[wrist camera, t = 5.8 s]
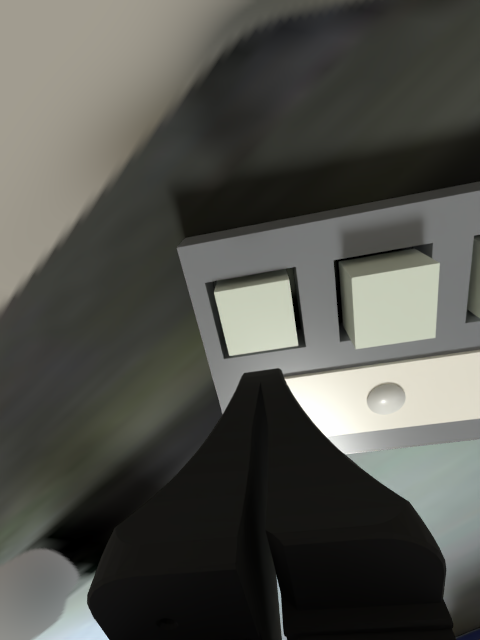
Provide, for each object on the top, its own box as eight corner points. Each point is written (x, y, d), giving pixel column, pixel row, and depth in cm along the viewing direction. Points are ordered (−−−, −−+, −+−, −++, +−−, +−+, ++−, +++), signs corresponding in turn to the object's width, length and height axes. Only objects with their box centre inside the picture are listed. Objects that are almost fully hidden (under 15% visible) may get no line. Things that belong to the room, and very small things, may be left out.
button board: (574, 163, 15) (625, 164, 13) (523, 407, 21) (553, 435, 19) (184, 238, 17) (175, 249, 15) (238, 442, 23) (236, 470, 21)
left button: (284, 264, 18) (289, 279, 15) (293, 323, 19) (298, 345, 17) (218, 275, 18) (213, 292, 16) (231, 333, 19) (229, 355, 17)
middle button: (414, 248, 16) (440, 262, 14) (412, 315, 17) (435, 337, 15) (338, 261, 16) (351, 277, 14) (343, 325, 18) (355, 349, 16)
